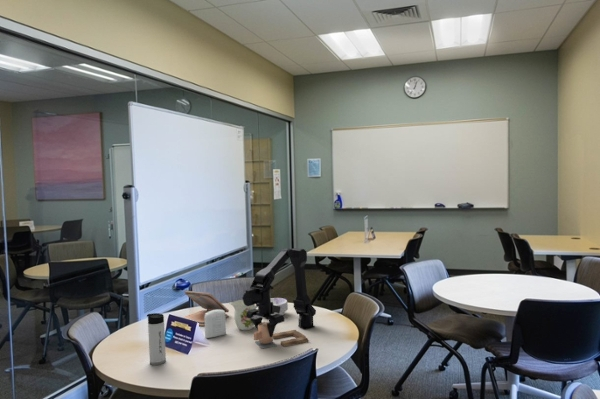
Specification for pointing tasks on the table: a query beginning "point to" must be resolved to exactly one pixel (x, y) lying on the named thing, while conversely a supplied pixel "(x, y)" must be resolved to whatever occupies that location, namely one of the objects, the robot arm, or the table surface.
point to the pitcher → (242, 315)
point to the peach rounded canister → (263, 334)
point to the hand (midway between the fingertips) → (265, 335)
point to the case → (204, 305)
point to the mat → (265, 344)
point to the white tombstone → (215, 323)
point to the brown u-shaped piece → (298, 339)
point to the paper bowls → (281, 303)
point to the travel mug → (156, 338)
